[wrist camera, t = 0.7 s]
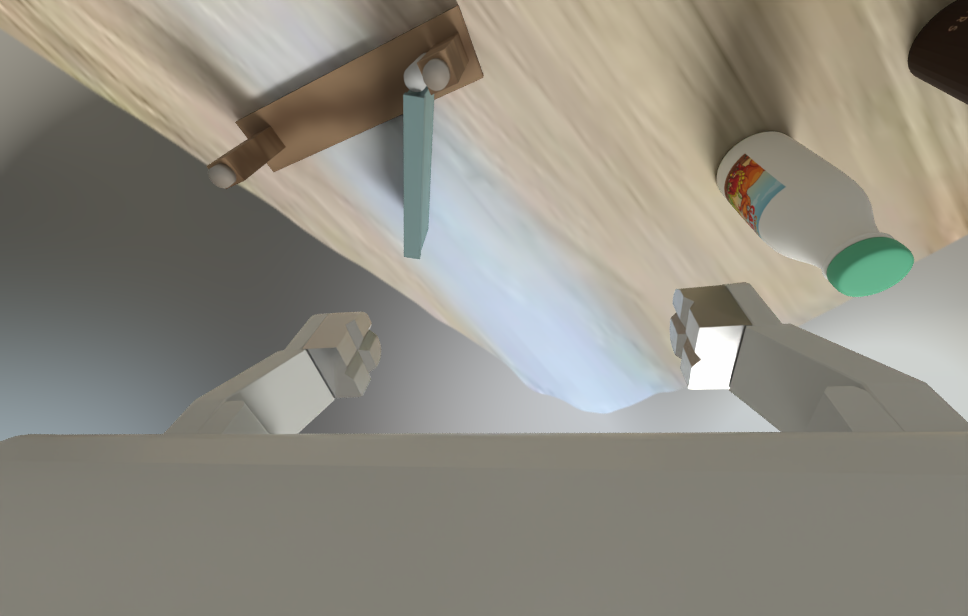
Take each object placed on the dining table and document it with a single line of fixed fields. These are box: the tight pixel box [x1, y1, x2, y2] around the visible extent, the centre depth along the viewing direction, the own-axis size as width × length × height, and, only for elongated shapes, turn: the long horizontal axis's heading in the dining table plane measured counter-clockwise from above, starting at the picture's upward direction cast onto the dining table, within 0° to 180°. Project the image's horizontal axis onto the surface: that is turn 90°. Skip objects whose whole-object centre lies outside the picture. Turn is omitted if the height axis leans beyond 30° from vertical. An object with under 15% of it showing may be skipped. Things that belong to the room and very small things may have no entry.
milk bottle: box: [717, 131, 914, 297], centre depth 35 cm, size 8×8×20 cm
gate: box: [403, 53, 434, 259], centre depth 41 cm, size 19×2×7 cm, turn 172°
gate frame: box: [207, 5, 484, 189], centre depth 37 cm, size 6×27×11 cm, turn 112°
